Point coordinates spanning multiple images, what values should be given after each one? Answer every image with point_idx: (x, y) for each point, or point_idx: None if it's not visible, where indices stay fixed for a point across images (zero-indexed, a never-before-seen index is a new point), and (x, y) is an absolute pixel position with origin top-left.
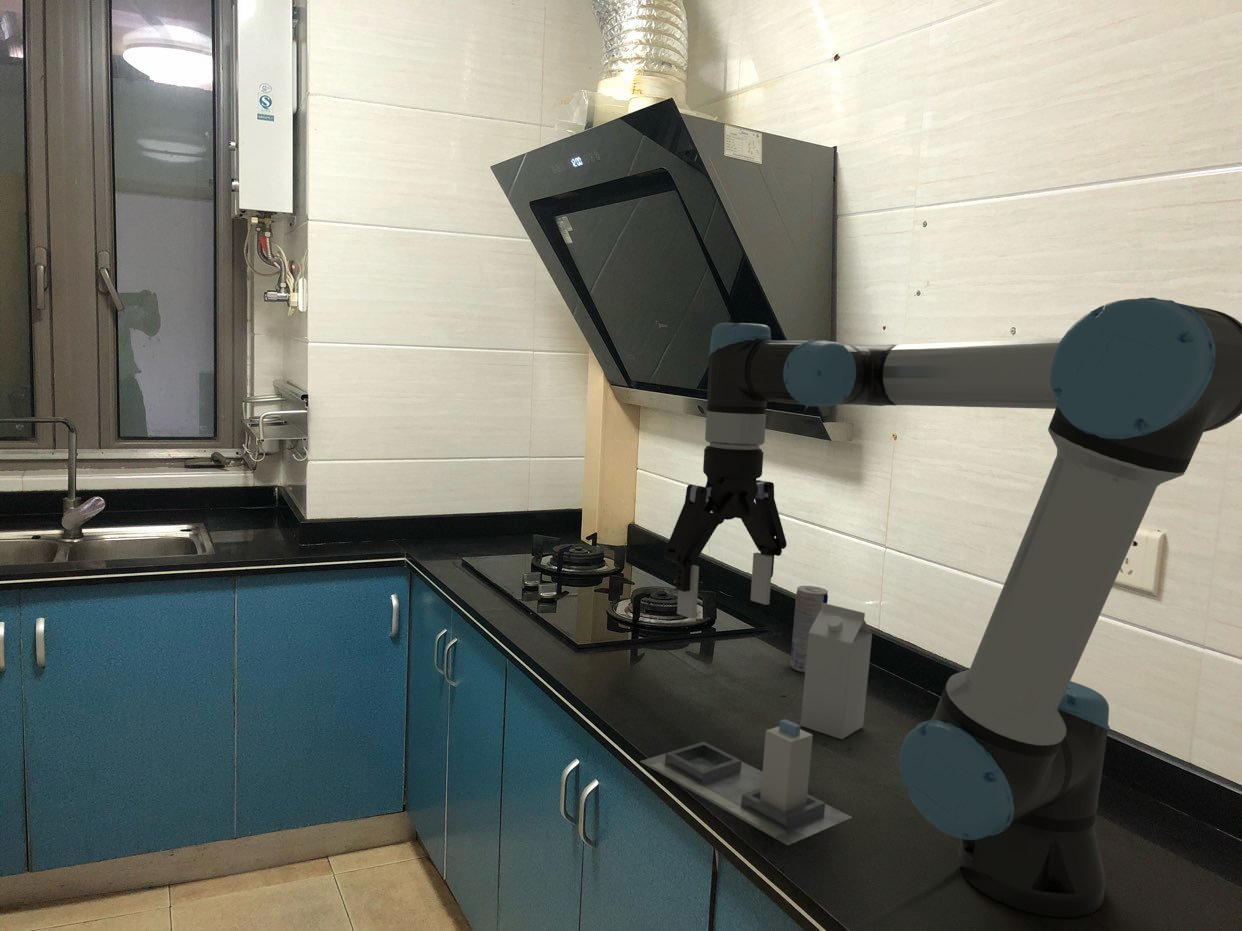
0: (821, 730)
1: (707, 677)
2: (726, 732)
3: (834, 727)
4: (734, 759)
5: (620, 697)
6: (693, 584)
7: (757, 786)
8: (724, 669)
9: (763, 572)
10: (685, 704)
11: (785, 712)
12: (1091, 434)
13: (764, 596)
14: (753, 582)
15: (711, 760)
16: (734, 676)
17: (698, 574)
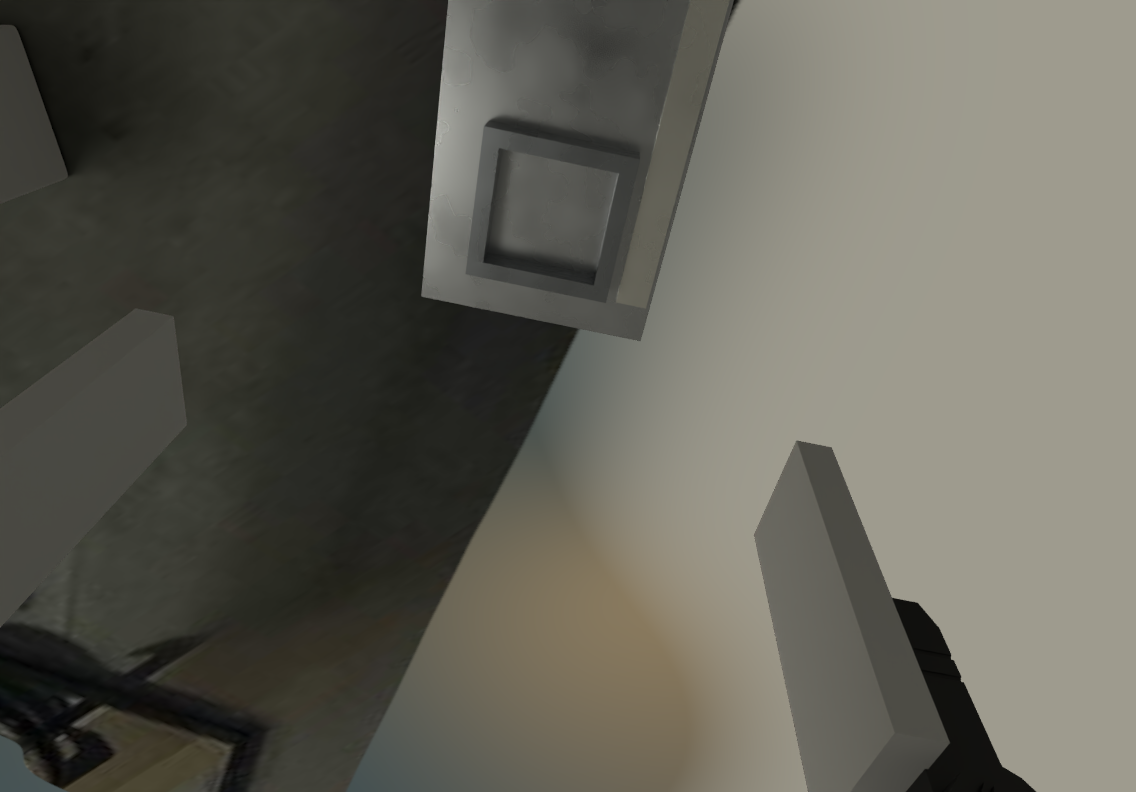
0: (39, 105)
1: None
2: (293, 300)
3: (5, 61)
4: (494, 146)
5: (363, 562)
6: (893, 613)
7: (534, 25)
8: None
9: (32, 476)
10: (257, 454)
11: (41, 259)
12: None
13: (145, 353)
14: (115, 486)
15: (496, 218)
16: None
17: (872, 667)
